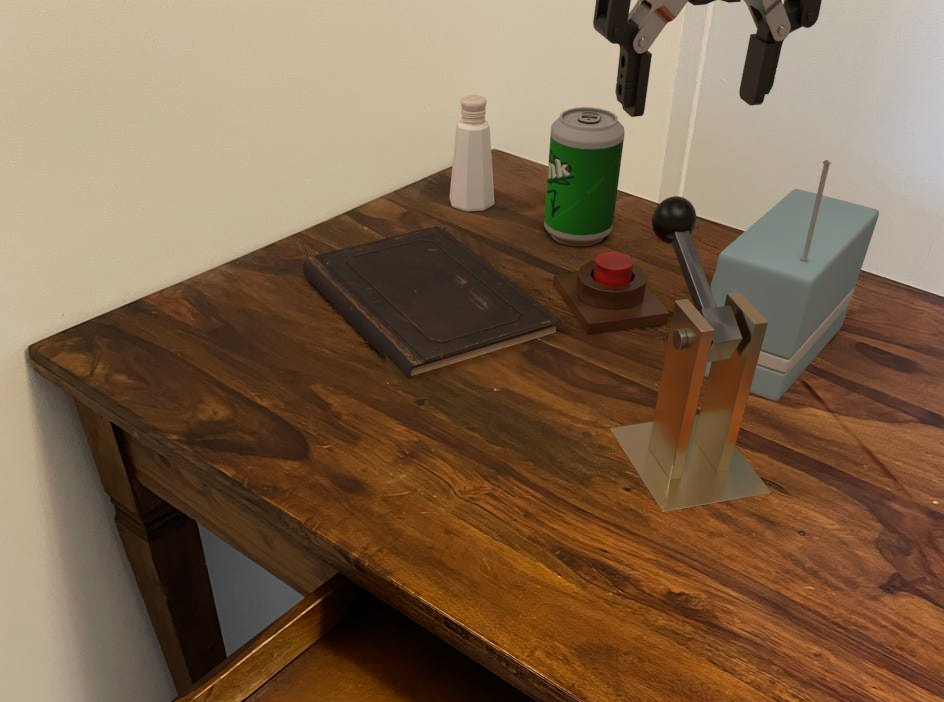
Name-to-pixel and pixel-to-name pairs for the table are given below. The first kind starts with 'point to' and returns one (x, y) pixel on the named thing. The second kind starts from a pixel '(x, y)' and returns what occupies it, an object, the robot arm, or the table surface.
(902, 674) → the table surface
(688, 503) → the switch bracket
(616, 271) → the stop button
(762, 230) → the radio
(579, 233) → the soda can
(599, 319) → the brown button base
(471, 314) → the hardcover book
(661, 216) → the switch lever
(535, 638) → the table surface
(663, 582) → the table surface
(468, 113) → the pepper shaker
